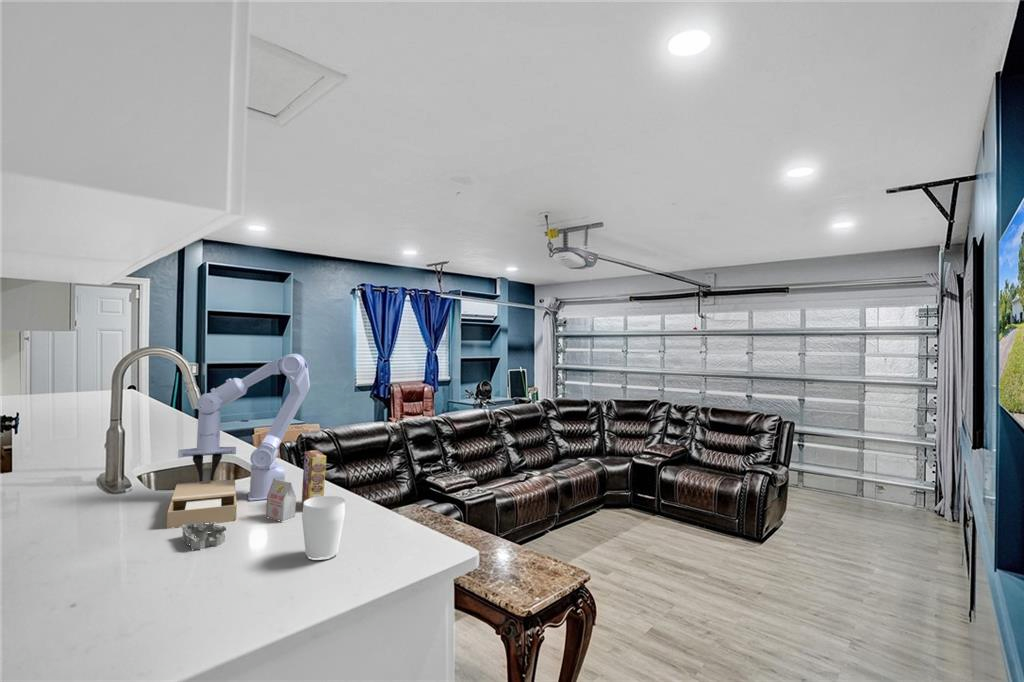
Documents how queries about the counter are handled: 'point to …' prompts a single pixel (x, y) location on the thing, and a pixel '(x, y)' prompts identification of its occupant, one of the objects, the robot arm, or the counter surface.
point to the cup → (322, 525)
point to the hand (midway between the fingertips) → (206, 480)
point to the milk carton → (281, 501)
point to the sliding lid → (204, 488)
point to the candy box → (313, 475)
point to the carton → (201, 511)
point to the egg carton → (203, 535)
